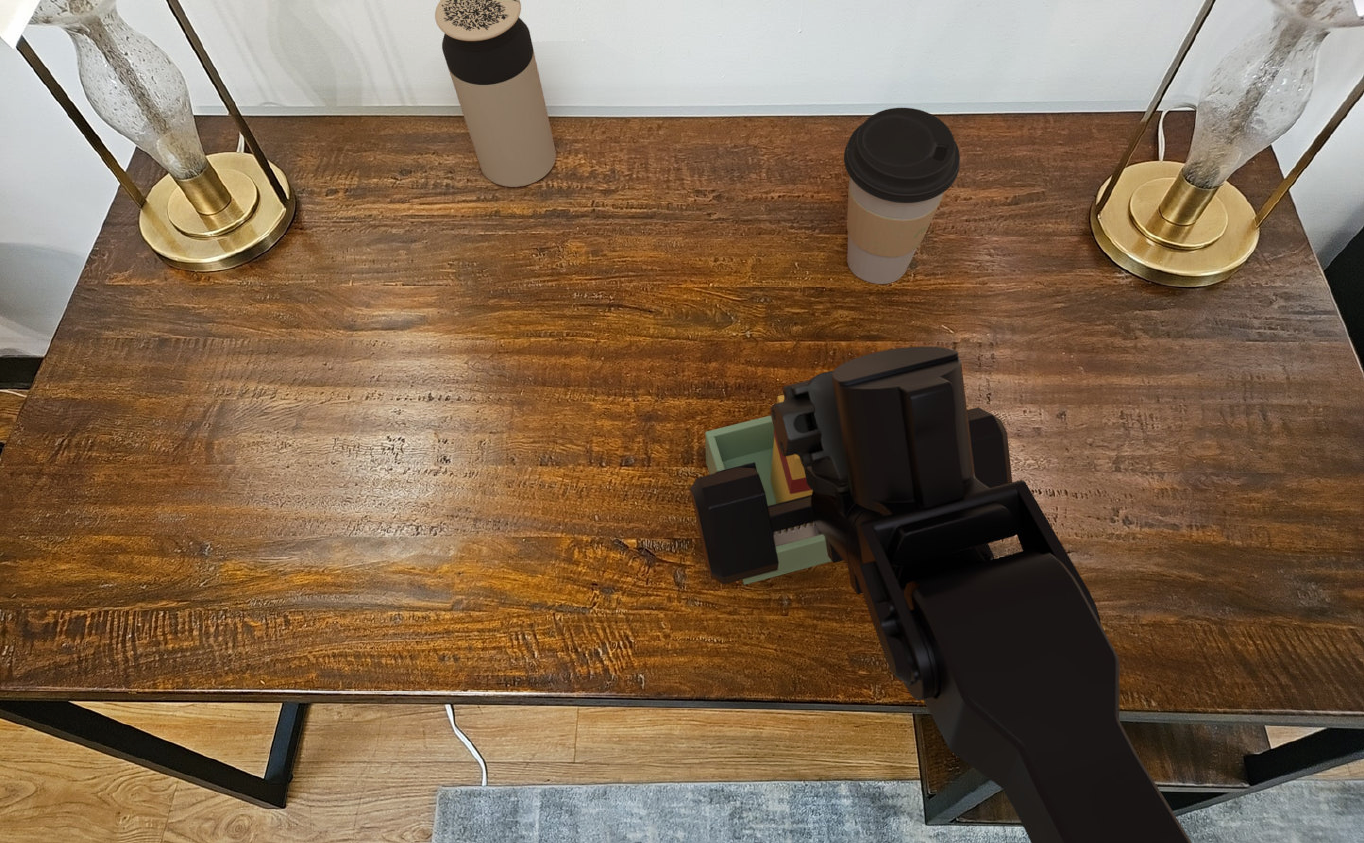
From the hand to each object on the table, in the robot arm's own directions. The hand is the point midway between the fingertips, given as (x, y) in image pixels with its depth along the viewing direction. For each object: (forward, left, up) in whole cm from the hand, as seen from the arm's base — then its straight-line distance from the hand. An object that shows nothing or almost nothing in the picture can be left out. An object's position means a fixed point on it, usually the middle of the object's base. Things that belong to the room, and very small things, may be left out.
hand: (812, 454), depth 61 cm
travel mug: (+49, +2, -14) cm, 51 cm away
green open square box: (+2, -1, -13) cm, 13 cm away
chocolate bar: (+2, -1, -13) cm, 13 cm away
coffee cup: (+19, -22, -14) cm, 32 cm away
